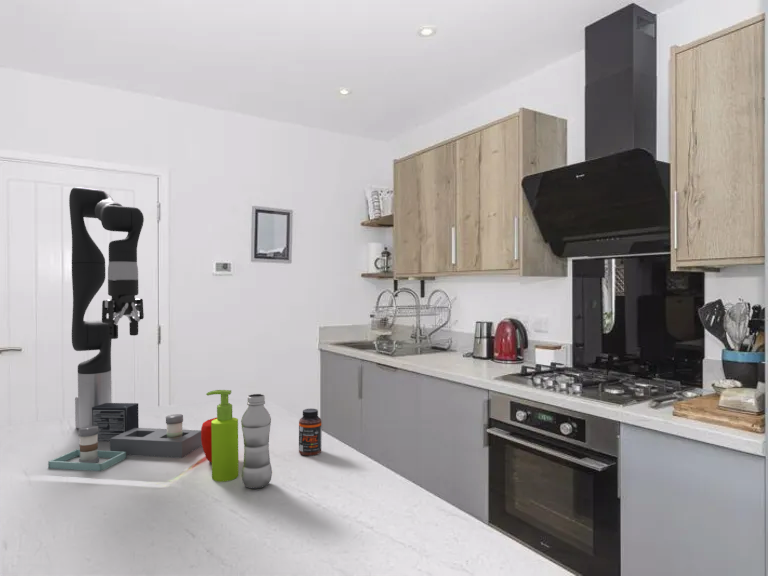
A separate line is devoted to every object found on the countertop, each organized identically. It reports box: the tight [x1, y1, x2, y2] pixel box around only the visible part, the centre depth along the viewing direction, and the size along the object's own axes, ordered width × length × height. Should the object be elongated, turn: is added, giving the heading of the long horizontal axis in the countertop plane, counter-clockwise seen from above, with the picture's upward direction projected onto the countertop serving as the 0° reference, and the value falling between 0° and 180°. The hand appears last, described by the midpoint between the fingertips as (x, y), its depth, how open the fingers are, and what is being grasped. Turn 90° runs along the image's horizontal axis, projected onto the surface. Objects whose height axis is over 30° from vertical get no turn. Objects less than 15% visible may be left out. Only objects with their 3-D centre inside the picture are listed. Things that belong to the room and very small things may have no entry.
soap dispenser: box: [205, 389, 240, 483], centre depth 119 cm, size 6×7×20 cm
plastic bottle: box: [240, 393, 273, 489], centre depth 113 cm, size 6×7×20 cm
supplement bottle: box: [298, 408, 323, 457], centre depth 135 cm, size 6×6×11 cm
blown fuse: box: [78, 426, 100, 463], centre depth 126 cm, size 4×4×9 cm
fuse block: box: [109, 413, 202, 459], centre depth 135 cm, size 20×10×10 cm, turn 81°
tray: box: [47, 448, 127, 472], centre depth 126 cm, size 14×9×2 cm, turn 81°
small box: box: [92, 402, 140, 442], centre depth 146 cm, size 11×6×10 cm, turn 84°
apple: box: [200, 417, 217, 464], centre depth 129 cm, size 9×9×11 cm
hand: (123, 336), depth 142 cm, fingers open, 8 cm apart
